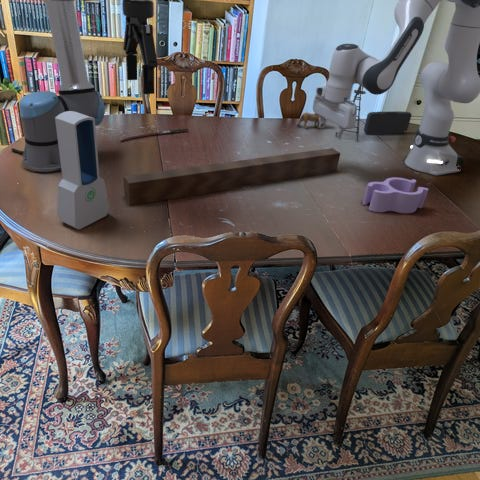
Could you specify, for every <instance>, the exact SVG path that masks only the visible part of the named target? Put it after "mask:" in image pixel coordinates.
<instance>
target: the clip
mask: <svg viewBox="0 0 480 480" xmlns="http://www.w3.org/2000/svg"><path fill="white" fill-rule="evenodd" d="M416 183H417V180H416V179H415V178H412V179H407V178H404V177H388V178H386V179H385V180H383V181H371V182H368V183H367V186H366V190H365V193H364V197H363V201H362V205H364V206H367V205H368V204H369V207H368V210H369V211H371V212H373V213H374V212H375V213H385V212H395V213H399V214H413V213H414V212H416V211H417V209H422V208H423V206H424V203H425V201H426V198H427V195H428V193H429V188H427V187H423V186H418V187H417V189H416V191H414V190H415V187H416Z"/></svg>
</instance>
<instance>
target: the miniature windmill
mask: <svg viewBox="0 0 480 480" xmlns="http://www.w3.org/2000/svg"><path fill="white" fill-rule="evenodd" d="M366 92H367V91H366V90H365V91H364V87H362V86H360V85H359V84H358V88H357V89H354V90H353V94H355V95H354V96H353V97H354V98H353V99H352V101H354V102H355V103H356V100H357V101H358V105H356V106H357V112H358V113H357V116H356V118H357V119H356V122H357V123H356V124H357V125H356V126H355V127H354V128H355V129H356V131H353V130H348V129H346V130H345V131H344V132H348V133H354V134H356V142H358V141H359V134H360V122H361V117H360V116H361V101H362V95H366V94H367V93H366ZM354 128H353V129H354ZM344 132H343V133H342V135H343V134H344Z"/></svg>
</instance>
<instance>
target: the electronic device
mask: <svg viewBox="0 0 480 480" xmlns="http://www.w3.org/2000/svg"><path fill="white" fill-rule="evenodd" d="M55 122H56V130H57V138H58V146H59V154H60V162H61V170H60V171H61V177H62V178H61V180H60V181H59V183H58V185H57V200H56V202H57V203H56V215H57V217H58V219H59V221H61V222H62V223H64V224H66V225H67V226H70V227H72V228H74V229H77V230H79V231H80V230H82V229H83V228H85V227H87V226H88V225H89V226H90V225H91V224H93V223H95V222H97V221H99V220H100V219H103V218H104V217H106V216H107V215H108V214H109V211H110V208H109V207H110V206H109V202H108V195H107V190H106V183H105V179H104V178H102V177H100V168H99V167H100V166H99V156H98V155H99V154H98V142H97V131H96V129H97V128H96V126H95V118H92V117H89V116H86V115H84V114H81V113H78V112H74V111H66V112H63V113H61V114H59V115H58V116H57V117H55Z"/></svg>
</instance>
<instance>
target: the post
mask: <svg viewBox="0 0 480 480" xmlns="http://www.w3.org/2000/svg"><path fill="white" fill-rule="evenodd" d="M340 157H341V152H340V151H338V150H336V149H334V148H333V147H330V148H329V147H328V148H322V149H315V150H307V151H301V152H300V151H299V152H293V153H285V154H279V155H277V154H276V155H271V156H264V157H263V156H262V157H255V158H249V159H241V160H235V161H233V160H232V161H226V162H220V163H219V162H218V163H211V164H204V165H196V166H189V167H182V168H174V169H168V170H159V171H152V172H144V173H136V174H130V175H124V176H123V190H124V191H123V193H124V199H125V201H126V202H127V204H128V206H134V205H140V204H147V203H152V202H153V203H154V202H160V201H166V200H171V199H177V198H183V197H189V196H195V195H202V194H208V193H213V192H214V193H215V192H220V191H225V190H232V189H238V188H244V187H245V188H246V187H250V186H256V185H263V184H267V183H274V182H282V181H287V180H293V179H298V178H304V177H311V176H316V175H323V174H329V173H336V172H337V170H338V167H339V161H340Z"/></svg>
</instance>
